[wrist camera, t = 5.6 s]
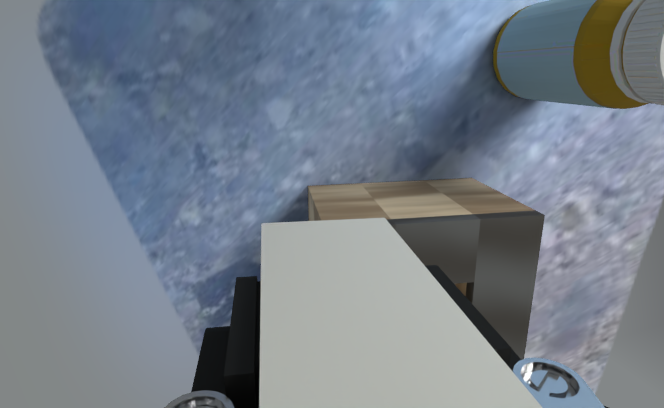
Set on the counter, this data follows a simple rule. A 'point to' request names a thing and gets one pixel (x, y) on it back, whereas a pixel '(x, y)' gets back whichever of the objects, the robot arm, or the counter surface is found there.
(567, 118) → the counter surface
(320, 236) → the peg
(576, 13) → the bottle
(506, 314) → the socket
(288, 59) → the counter surface
